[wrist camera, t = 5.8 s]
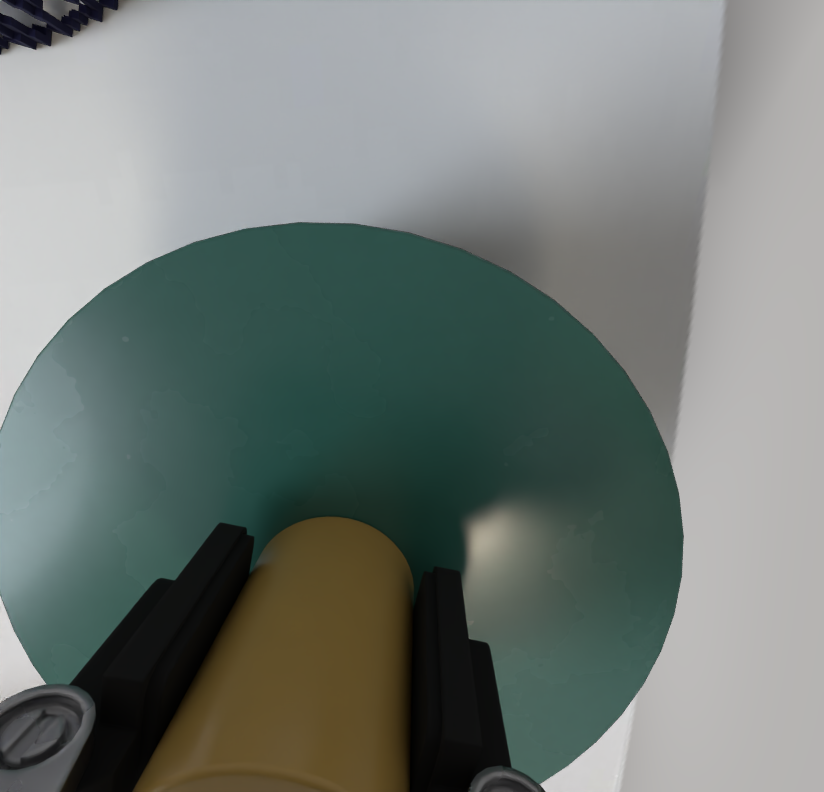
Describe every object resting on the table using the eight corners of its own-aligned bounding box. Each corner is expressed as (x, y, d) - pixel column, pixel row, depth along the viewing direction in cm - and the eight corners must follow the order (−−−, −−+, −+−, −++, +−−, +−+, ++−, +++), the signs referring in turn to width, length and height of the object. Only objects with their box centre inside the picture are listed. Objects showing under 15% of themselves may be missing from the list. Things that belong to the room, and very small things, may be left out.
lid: (764, 318, 11) (1311, 411, 4) (551, 829, 15) (653, 1276, 8) (31, 146, 10) (-712, -71, 3) (25, 733, 14) (-315, 1139, 8)
